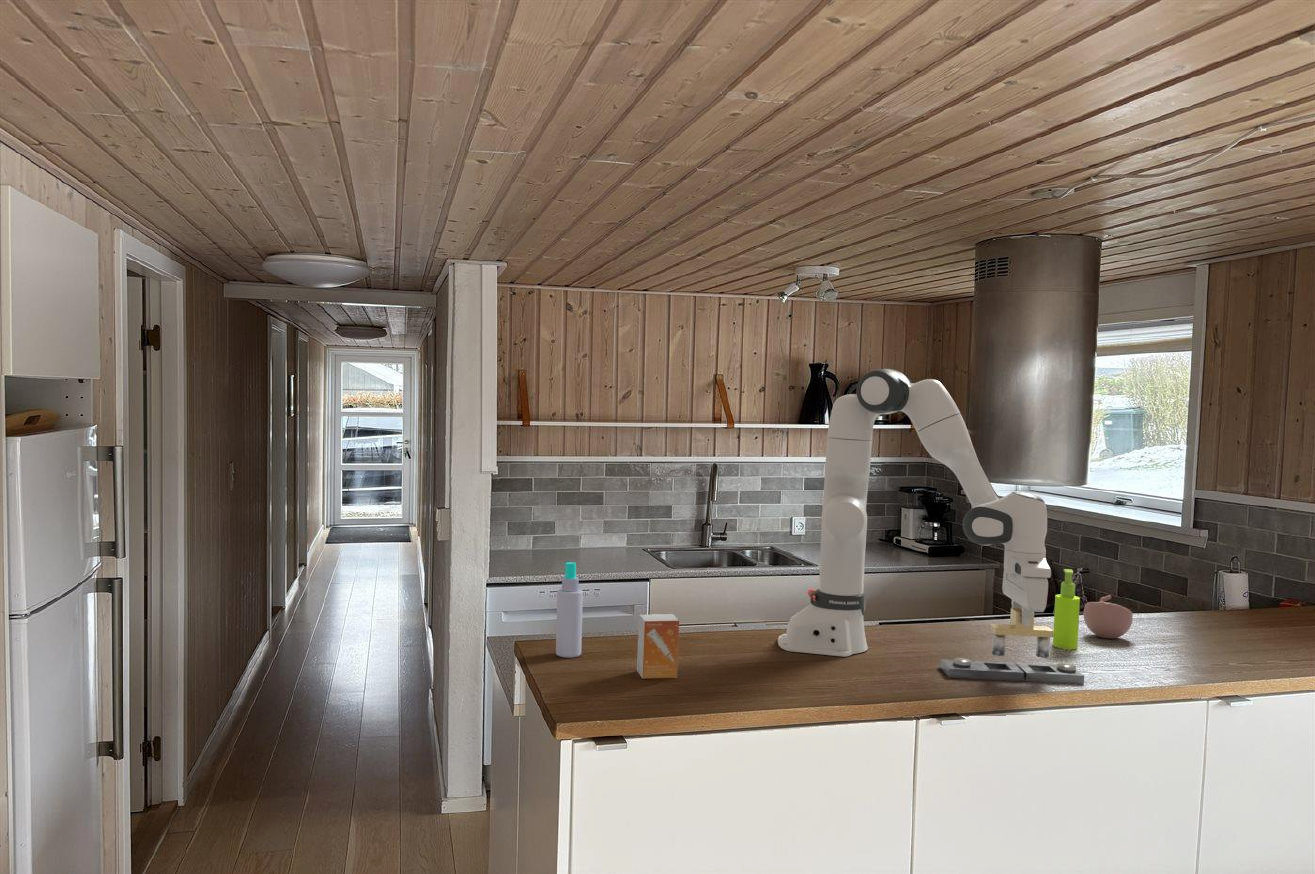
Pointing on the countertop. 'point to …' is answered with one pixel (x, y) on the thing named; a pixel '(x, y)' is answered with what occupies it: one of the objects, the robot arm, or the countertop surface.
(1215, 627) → the countertop surface
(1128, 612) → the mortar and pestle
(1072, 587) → the soap dispenser
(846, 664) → the countertop surface
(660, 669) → the small box
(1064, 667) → the right chain end
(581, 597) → the spray bottle
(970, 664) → the plate
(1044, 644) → the tan bridge piece
